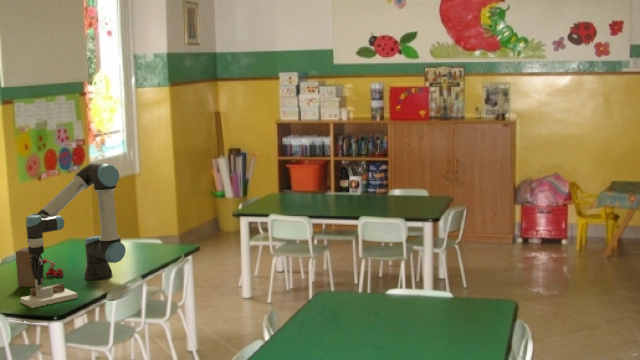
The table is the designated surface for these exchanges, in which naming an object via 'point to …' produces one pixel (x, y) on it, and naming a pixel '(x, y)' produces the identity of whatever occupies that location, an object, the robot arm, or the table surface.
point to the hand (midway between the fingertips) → (39, 290)
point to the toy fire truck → (53, 270)
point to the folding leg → (55, 287)
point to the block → (24, 269)
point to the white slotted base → (48, 297)
